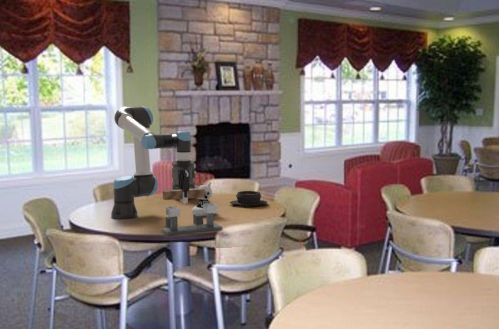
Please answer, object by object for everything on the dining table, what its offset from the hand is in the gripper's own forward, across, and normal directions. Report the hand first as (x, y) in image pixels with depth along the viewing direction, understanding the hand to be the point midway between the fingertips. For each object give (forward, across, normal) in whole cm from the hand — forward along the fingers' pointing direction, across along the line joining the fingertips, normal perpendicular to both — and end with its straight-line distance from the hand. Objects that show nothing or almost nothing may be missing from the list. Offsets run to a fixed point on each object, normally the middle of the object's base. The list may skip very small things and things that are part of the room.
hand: (183, 202), depth 294 cm
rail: (-2, 0, 0) cm, 2 cm away
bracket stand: (+13, -14, 0) cm, 19 cm away
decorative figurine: (+13, +22, -20) cm, 33 cm away
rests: (+13, -1, 0) cm, 13 cm away
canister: (+14, +80, -26) cm, 86 cm away
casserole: (+14, +38, -57) cm, 70 cm away
